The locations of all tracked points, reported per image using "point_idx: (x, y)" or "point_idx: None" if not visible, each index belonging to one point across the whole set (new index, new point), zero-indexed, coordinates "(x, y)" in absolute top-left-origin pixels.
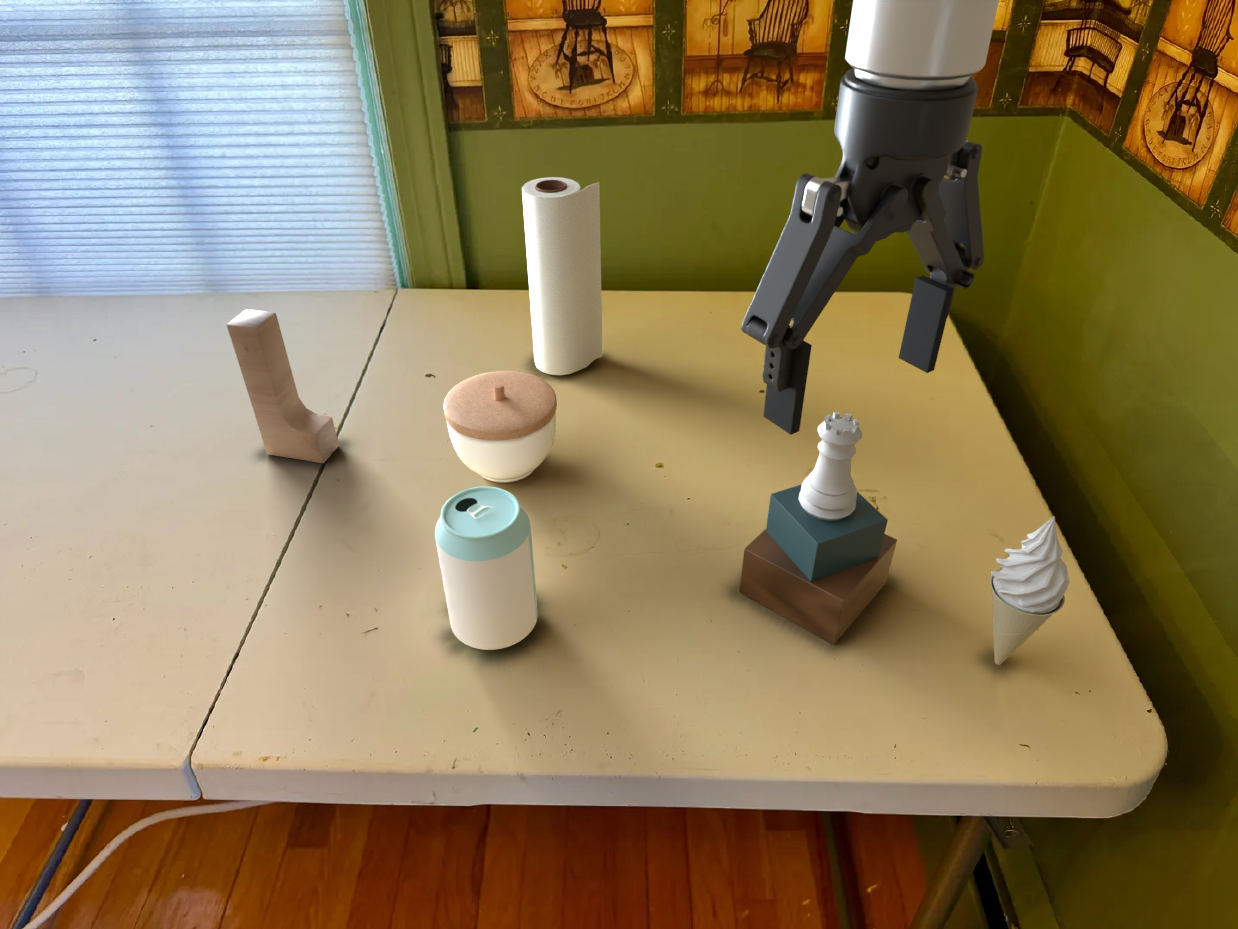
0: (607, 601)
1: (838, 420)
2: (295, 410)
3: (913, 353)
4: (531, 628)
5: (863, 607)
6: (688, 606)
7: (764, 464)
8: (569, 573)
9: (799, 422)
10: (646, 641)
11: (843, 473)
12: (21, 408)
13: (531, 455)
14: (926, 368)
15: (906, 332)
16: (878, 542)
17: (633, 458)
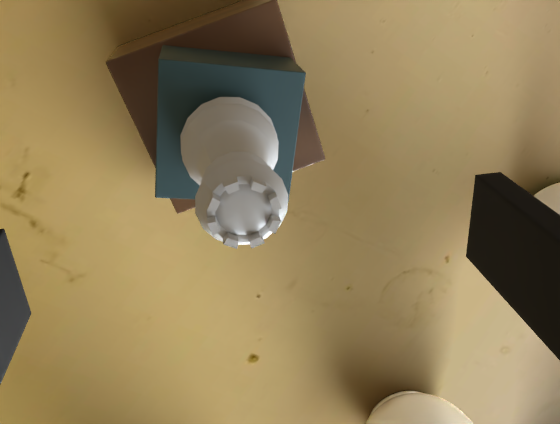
0: (443, 193)
1: (239, 225)
2: None
3: (10, 297)
4: (544, 191)
5: (186, 21)
6: (374, 143)
7: (126, 312)
8: (449, 248)
9: (492, 184)
10: (447, 121)
11: (239, 142)
12: None
13: (420, 409)
14: (2, 239)
15: (4, 361)
16: (170, 51)
17: (273, 379)
